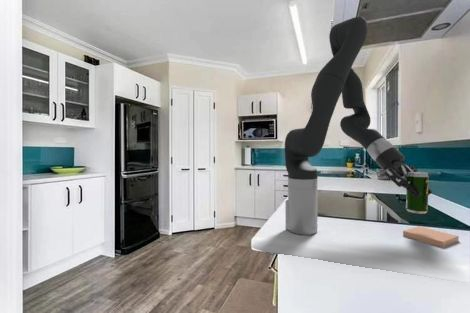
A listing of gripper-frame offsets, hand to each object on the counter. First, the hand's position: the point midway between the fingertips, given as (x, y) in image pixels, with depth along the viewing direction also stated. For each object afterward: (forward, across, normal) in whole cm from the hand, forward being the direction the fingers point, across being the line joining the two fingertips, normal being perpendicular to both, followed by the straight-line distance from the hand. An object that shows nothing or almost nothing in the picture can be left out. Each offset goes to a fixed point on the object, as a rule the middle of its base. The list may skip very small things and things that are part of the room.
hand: (423, 195), depth 74 cm
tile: (+6, 0, +11) cm, 12 cm away
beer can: (+3, 0, +5) cm, 6 cm away
